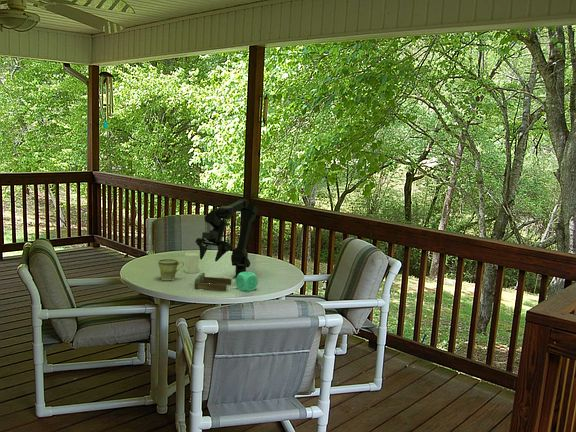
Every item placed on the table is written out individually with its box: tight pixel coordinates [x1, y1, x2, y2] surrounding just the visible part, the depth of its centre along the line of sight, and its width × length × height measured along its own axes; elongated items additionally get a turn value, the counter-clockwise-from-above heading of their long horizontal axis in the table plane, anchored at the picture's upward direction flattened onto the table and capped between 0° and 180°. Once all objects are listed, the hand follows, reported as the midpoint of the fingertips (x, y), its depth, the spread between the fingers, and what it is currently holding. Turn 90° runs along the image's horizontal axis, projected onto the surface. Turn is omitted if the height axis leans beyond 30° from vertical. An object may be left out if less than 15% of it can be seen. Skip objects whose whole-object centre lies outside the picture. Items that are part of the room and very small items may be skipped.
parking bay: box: [194, 272, 232, 292], centre depth 277 cm, size 14×16×5 cm
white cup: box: [184, 252, 200, 274], centre depth 305 cm, size 8×8×10 cm
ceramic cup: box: [157, 258, 185, 281], centre depth 287 cm, size 13×10×10 cm
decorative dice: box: [235, 271, 259, 292], centre depth 276 cm, size 8×8×8 cm
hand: (208, 260), depth 270 cm, fingers open, 9 cm apart
